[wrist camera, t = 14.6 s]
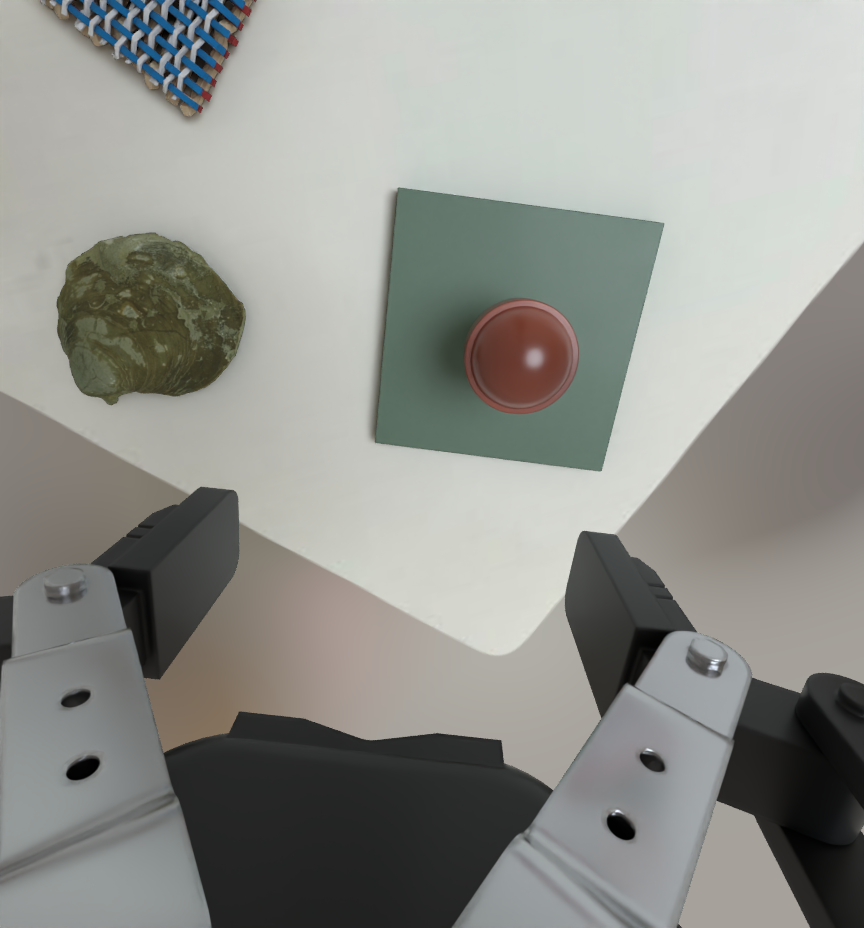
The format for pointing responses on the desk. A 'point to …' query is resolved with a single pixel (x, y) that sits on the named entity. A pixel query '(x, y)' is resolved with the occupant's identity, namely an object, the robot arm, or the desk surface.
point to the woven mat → (157, 5)
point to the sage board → (488, 282)
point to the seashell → (146, 319)
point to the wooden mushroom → (520, 355)
